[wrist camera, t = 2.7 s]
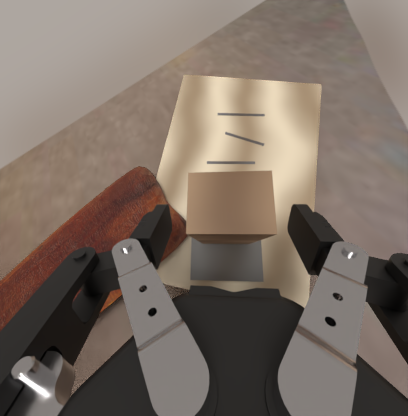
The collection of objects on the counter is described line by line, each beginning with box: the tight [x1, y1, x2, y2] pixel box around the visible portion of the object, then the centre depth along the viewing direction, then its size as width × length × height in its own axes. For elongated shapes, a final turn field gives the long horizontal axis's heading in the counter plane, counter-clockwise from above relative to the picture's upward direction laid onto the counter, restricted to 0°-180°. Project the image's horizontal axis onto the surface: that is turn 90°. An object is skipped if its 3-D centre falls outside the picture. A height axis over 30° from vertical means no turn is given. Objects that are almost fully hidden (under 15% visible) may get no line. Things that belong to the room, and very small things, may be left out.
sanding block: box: [186, 170, 277, 282], centre depth 13 cm, size 6×9×10 cm, turn 0°
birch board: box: [156, 75, 322, 308], centre depth 20 cm, size 16×24×2 cm, turn 169°
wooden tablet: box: [0, 166, 188, 331], centre depth 18 cm, size 27×10×2 cm, turn 129°
